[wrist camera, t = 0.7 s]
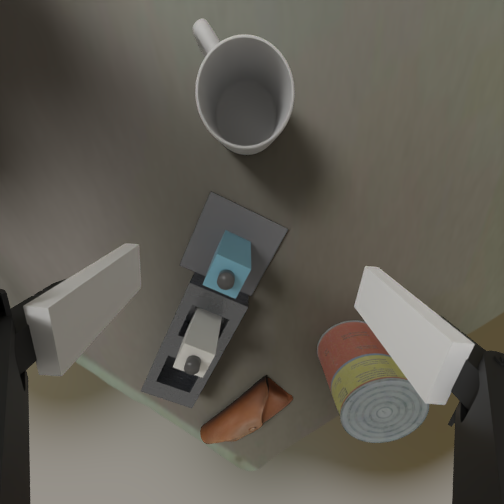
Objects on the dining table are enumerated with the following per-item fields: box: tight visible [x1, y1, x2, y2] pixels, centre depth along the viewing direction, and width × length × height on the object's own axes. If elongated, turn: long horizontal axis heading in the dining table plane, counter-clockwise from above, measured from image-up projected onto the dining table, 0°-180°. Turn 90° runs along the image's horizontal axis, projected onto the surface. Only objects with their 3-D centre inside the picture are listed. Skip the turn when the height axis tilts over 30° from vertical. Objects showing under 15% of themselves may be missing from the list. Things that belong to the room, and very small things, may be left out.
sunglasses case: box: [200, 375, 293, 444], centre depth 47 cm, size 18×7×7 cm
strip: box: [141, 272, 248, 408], centre depth 40 cm, size 22×9×4 cm, turn 154°
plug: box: [203, 230, 251, 299], centre depth 31 cm, size 4×4×11 cm
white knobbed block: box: [173, 307, 222, 378], centre depth 34 cm, size 4×4×11 cm
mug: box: [193, 19, 295, 155], centre depth 25 cm, size 12×8×11 cm
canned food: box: [317, 320, 429, 443], centre depth 37 cm, size 11×11×12 cm
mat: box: [180, 192, 288, 296], centre depth 36 cm, size 12×12×1 cm
